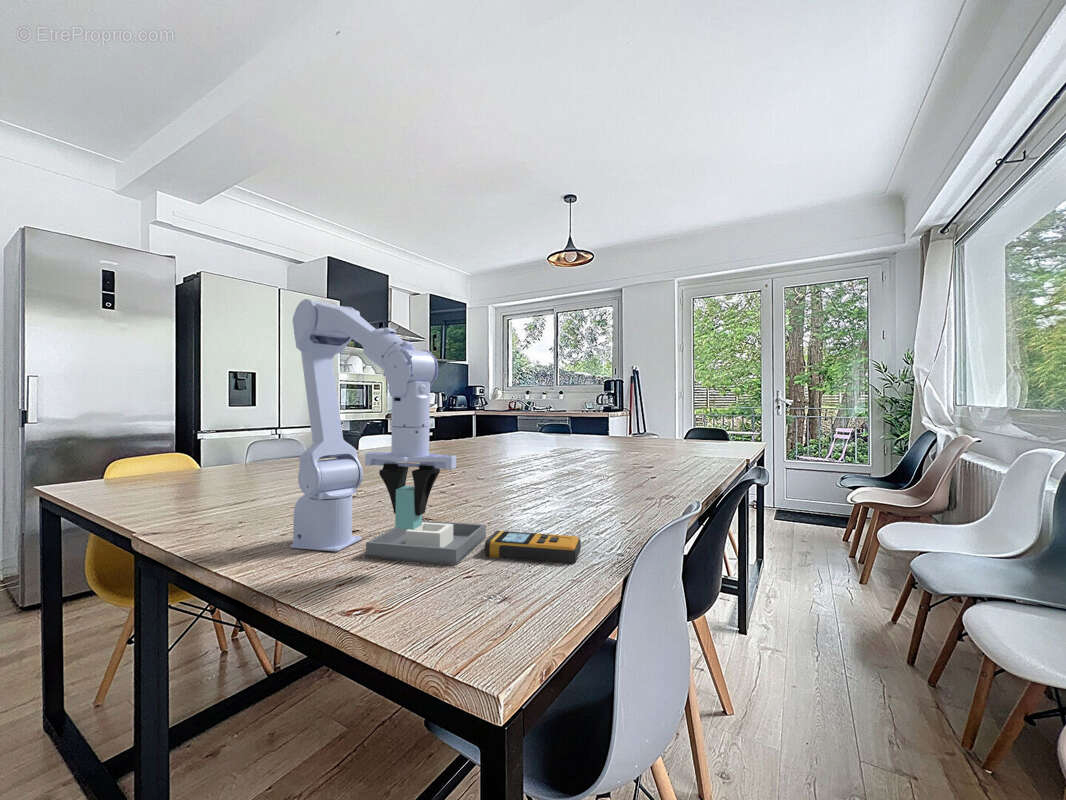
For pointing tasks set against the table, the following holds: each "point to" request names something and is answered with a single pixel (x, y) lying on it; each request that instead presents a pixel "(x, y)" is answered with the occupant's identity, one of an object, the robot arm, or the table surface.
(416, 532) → the socket box
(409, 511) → the plug peg
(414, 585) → the table surface
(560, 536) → the electronic device
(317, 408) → the robot arm
